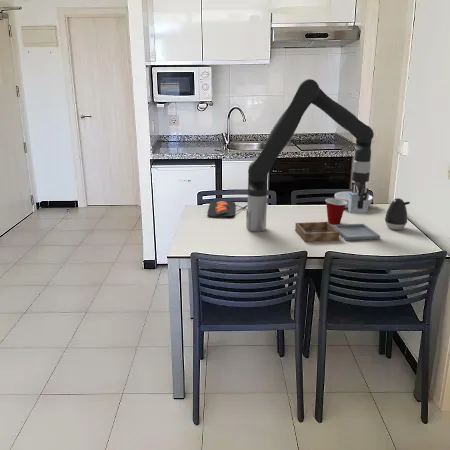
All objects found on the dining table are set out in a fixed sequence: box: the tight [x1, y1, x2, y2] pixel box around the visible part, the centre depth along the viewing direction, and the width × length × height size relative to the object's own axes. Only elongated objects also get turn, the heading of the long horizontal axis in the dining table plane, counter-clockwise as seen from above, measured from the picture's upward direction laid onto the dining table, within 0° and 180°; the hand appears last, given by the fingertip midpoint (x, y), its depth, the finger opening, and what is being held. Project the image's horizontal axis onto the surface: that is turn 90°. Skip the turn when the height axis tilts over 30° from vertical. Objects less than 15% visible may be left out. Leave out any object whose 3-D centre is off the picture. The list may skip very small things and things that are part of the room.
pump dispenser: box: [384, 197, 411, 231], centre depth 225 cm, size 10×10×15 cm
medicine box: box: [347, 193, 370, 213], centre depth 214 cm, size 8×4×9 cm, turn 92°
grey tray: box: [332, 223, 381, 242], centre depth 219 cm, size 16×18×2 cm
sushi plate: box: [207, 200, 248, 218], centre depth 255 cm, size 29×30×4 cm
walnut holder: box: [294, 221, 340, 243], centre depth 216 cm, size 16×16×4 cm
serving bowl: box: [334, 191, 374, 209], centre depth 263 cm, size 21×21×7 cm
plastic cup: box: [325, 197, 347, 226], centre depth 233 cm, size 11×11×12 cm
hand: (357, 206), depth 215 cm, fingers closed on medicine box, 4 cm apart
